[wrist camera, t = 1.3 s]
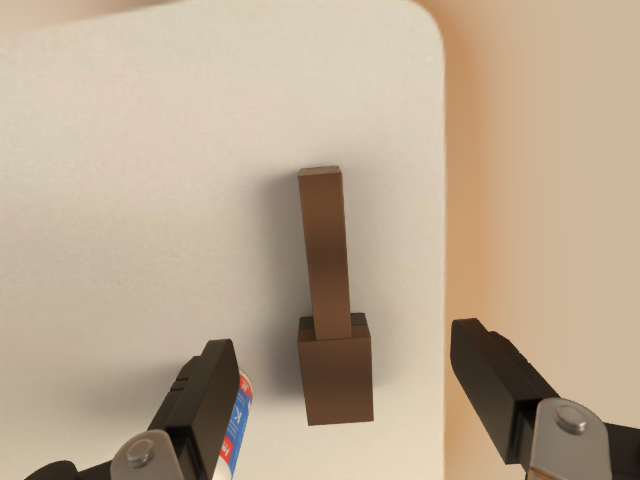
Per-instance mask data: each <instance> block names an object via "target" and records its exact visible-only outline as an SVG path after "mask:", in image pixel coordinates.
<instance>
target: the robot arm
mask: <svg viewBox="0 0 640 480" xmlns="http://www.w3.org/2000/svg"><path fill="white" fill-rule="evenodd" d="M450 359H451V365H452V368H453V371H454V373H455V375H456V377H457V379H458V380H459V382H460V384H461V386H462V387H463V390H464V391H465V393H466V395H467V397H468V398H469V400H470V402H471V404H472V406H473V407H474V409H475V411H476V413H477V415H478V416H479V418H480V420H481V422H482V423H483V425H484V427H485V429H486V430H487V432H488V434H489V436H490V438H491V439H492V441H493V443H494V445H495V447H496V448H497V450H498V452H499V454H500V456H501V457H502V459H503V461H504V462H505V464H506V465H507V464H521V465H522V467H523V469H524V470H525V472H526V475H525V480H640V429H637V428H631V427H626V426H620V425H615V424H609V423H605V422H602V420H601V419H600V418H599V417H598V416H597V415H596V414H594V413H593V412H592V411H590V410H589V409H588V408H586V407H584V406H583V405H580V404H578V403H576V402H573V401H571V400H567V399H563V398H561V397H560V396H559V395H558V394H557V393H556V392H555V390H554V389H553V388H552V387H551V386H550V385H549V384H548V383H547V382H546V380H545V379H544V378H543V377H542V376H541V375H540V374H539V373H538V372H537V371H536V369H535V368H534V367H533V366H532V365H531V364H530V363H528V362H527V359H526V358H525V357H524V356H523V355H522V354H521V353H519V351H518V350H517V349H516V347H515V346H514V345H513V344H512V343H511V342H510V341H509V340H508V339H506V338H505V337H503V336H501V335H499V334H498V333H497V332H495V331H491V332H488V331H487V330H486V329H485V327H484V326H483V325H482V324H481V323H480V322H479V320H478V319H476V318H469V319H458V320H453V322H452V328H451V350H450ZM239 386H240V374H239V369H238V364H237V360H236V355H235V351H234V347H233V343H232V340H231V339H221V340H210V341H208V343H207V344H206V346H205V348H204V350H203V352H202V354H201V356H194V357H193V358H192V359H191V360H190V361H189V362H187V363H186V364H185V365H184V366H183V367H182V369H181V371H180V373H179V374H178V376H177V378H176V382H174V383H173V385H172V387H171V388H170V392H168V394H167V396H166V397H165V399H164V401H163V403H162V404H161V406H160V408H159V410H158V411H157V413H156V415H155V417H154V419H153V420H152V422H151V424H150V426H149V427H148V429H147V431H145V432H143V433H140V434H138V435H136V436H135V437H133V438H132V439H130V440H129V441H128V442H127V443H125V444H124V445H123V446H122V447H121V448H120V450H119V451H118V452H117V454H116V455H115V457H114V458H113V460H110V461H108V462H105V463H102V464H100V465H97V466H94V467H91V468H89V469H86V470H83V471H80V472H78V471H77V469H76V467H75V465H74V464H73V463H72V462H70V461H66V460H64V461H57V462H53V463H50V464H48V465H46V466H44V467H42V468H40V469H38V470H37V471H35V472H34V473H32V474H31V475H29V476H28V477H27V478H26V479H24V480H212V478H213V475H214V471H215V468H216V465H217V461H218V458H219V455H220V451H221V448H222V445H223V441H224V438H225V435H226V431H227V428H228V425H229V421H230V418H231V415H232V411H233V408H234V405H235V401H236V398H237V395H238V391H239Z"/></svg>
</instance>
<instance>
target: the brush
mask: <svg viewBox="0 0 640 480" xmlns="http://www.w3.org/2000/svg"><path fill="white" fill-rule="evenodd" d="M298 180H299V189H300V199H301V208H302V217H303V226H304V236H305V245H306V254H307V263H308V273H309V282H310V291H311V300H312V309H313V317H309V318H300V319H299V329H298V339H297V345H298V353H299V360H300V367H301V375H302V382H303V390H304V397H305V405H306V412H307V420H308V426H313V425H327V424H342V423H356V422H370V421H374V416H373V387H372V358H371V336H370V332H369V328H368V324H367V320H366V316H365V314H364V313H361V314H350V299H349V282H348V265H347V249H346V232H345V215H344V199H343V182H342V172H341V170H340V168H339V166H329V167H318V168H307V169H301V170H300V173H299V176H298Z"/></svg>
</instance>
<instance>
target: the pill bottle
mask: <svg viewBox="0 0 640 480" xmlns="http://www.w3.org/2000/svg"><path fill="white" fill-rule="evenodd" d="M239 374H240V386H239V391H238V395H237V398H236V401H235V405H234V408H233V411H232V415H231V418H230V421H229V425H228V428H227V431H226V435H225V438H224V441H223V445H222V448H221V451H220V455H219V458H218V461H217V465H216V468H215V471H214V475H213V478H212V480H232V478H233V474H234V470H235V466H236V462H237V458H238V454H239V450H240V447H241V443H242V439H243V435H244V431H245V427H246V423H247V419H248V415H249V411H250V407H251V403H252V398H253V389H252V385H251V382H250V380H249V379H248V377H247V376H246V375H245V374H244V373H243V372H242V371H241V370H240V369H239Z"/></svg>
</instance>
